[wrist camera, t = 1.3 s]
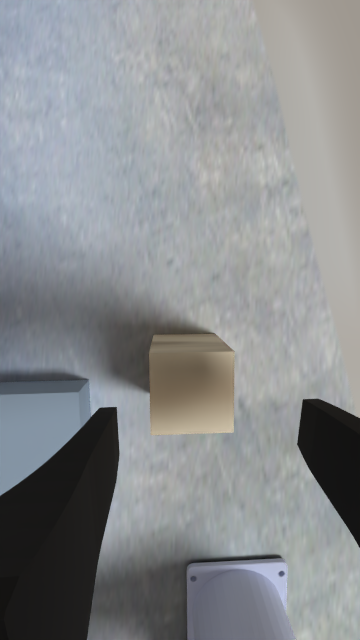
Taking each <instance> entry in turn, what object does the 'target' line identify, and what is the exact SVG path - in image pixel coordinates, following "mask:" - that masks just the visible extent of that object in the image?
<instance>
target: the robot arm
mask: <svg viewBox="0 0 360 640" xmlns="http://www.w3.org/2000/svg"><path fill="white" fill-rule="evenodd" d="M297 445H298V447H299V449H300V451H301V453H302V455H303V458H304V460H305V462H306V464H307V465H308V467H309V469H310V471H311V472H312V474H313V476H314V477H315V479H316V480H317V482H318V483H319V485H320V486H321V488H322V490H323V491H324V493H325V494H326V496H327V497H328V499H329V500H330V502H331V503H332V505H333V506H334V508H335V509H336V511H337V512H338V514H339V515H340V517H341V518H342V520H343V521H344V523H345V524H346V526H347V527H348V529H349V530H350V532H351V534H352V535H353V537H354V539H355V540H356V542H357V544H358V546H359V547H360V418H358V417H356V416H354V415H352V414H350V413H348V412H346V411H344V410H342V409H340V408H338V407H336V406H334V405H332V404H329V403H327V402H325V401H322V400H320V399H303V403H302V411H301V419H300V427H299V435H298V443H297ZM118 462H119V439H118V423H117V407H106V408H99V409H98V410H97V411H96V412H95V413H94V414H93V416H92V417H91V418H90V419H89V420H88V421H87V422H86V423H85V424H84V425H83V426H82V428H81V429H80V430H79V431H78V432H77V433H76V434H75V435H74V436H73V437H72V438H71V439H70V440H69V441H68V442H67V443H66V444H65V445H64V446H63V447H62V448H61V449H60V450H58V451H57V452H56V453H55V454H54V455H53V456H52V457H51V458H50V459H49V460H47V461H46V462H45V463H44V464H43V465H42V466H40V467H39V468H38V469H37V470H35V471H34V472H33V473H31V474H30V475H29V476H28V477H26V478H25V479H24V480H22V481H21V482H20V483H18V484H17V485H15V486H14V487H12V488H11V489H9V490H8V491H6V492H5V493H3V494H2V495H1V496H0V640H87V634H88V627H89V620H90V613H91V605H92V598H93V592H94V585H95V578H96V571H97V564H98V559H99V554H100V549H101V544H102V540H103V536H104V531H105V527H106V523H107V519H108V514H109V510H110V506H111V502H112V497H113V493H114V489H115V484H116V479H117V471H118ZM287 569H288V567H287V564H286V561H285V560H284V559H281V558H277V559H259V560H241V561H223V562H205V563H192V564H189V565H188V567H187V640H296V637H295V635H294V632H293V629H292V627H291V624H290V621H289V619H288V616H287V613H286V598H287ZM280 571H281V572H280ZM192 576H195V577H192Z"/></svg>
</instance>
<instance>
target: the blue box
mask: <svg viewBox="0 0 360 640" xmlns="http://www.w3.org/2000/svg"><path fill="white" fill-rule="evenodd" d="M90 418H91V412H90V393H89V380H60V381H25V382H0V496H1V495H2V494H3V493H5V492H6V491H8V490H9V489H11V488H12V487H14V486H15V485H17V484H18V483H20V482H21V481H22V480H24V479H25V478H26V477H28V476H29V475H30V474H31V473H33V472H34V471H35V470H37V469H38V468H39V467H40V466H42V465H43V464H44V463H45V462H46V461H47V460H49V459H50V458H51V457H52V456H53V455H54V454H55V453H56V452H57V451H58V450H60V449H61V448H62V447H63V446H64V445H65V444H66V443H67V442H68V441H69V440H70V439H71V438H72V437H73V436H74V435H75V434H76V433H77V432H78V431H79V430H80V429H81V428H82V426H83V425H84V424H85V423H86V422H87V421H88V420H89V419H90Z"/></svg>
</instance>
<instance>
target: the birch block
mask: <svg viewBox="0 0 360 640" xmlns="http://www.w3.org/2000/svg"><path fill="white" fill-rule="evenodd" d="M149 376H150V422H151V435H173V434H202V433H231V432H234V351H233V350H232V349H231V348H230V347H229V346H228V345H227V344H226V343H225V342H224V341H223V340H221V339H220V338H219V337H218V336H217V335H216V334H168V335H153V339H152V343H151V347H150V351H149Z"/></svg>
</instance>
